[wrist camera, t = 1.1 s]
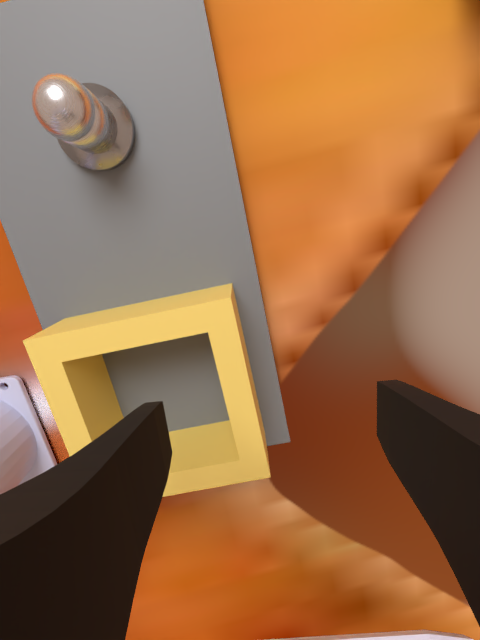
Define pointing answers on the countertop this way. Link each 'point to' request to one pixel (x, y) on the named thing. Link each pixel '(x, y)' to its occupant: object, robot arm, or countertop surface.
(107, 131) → the metal drawer knob
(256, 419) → the link
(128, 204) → the keeper board
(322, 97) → the countertop surface
